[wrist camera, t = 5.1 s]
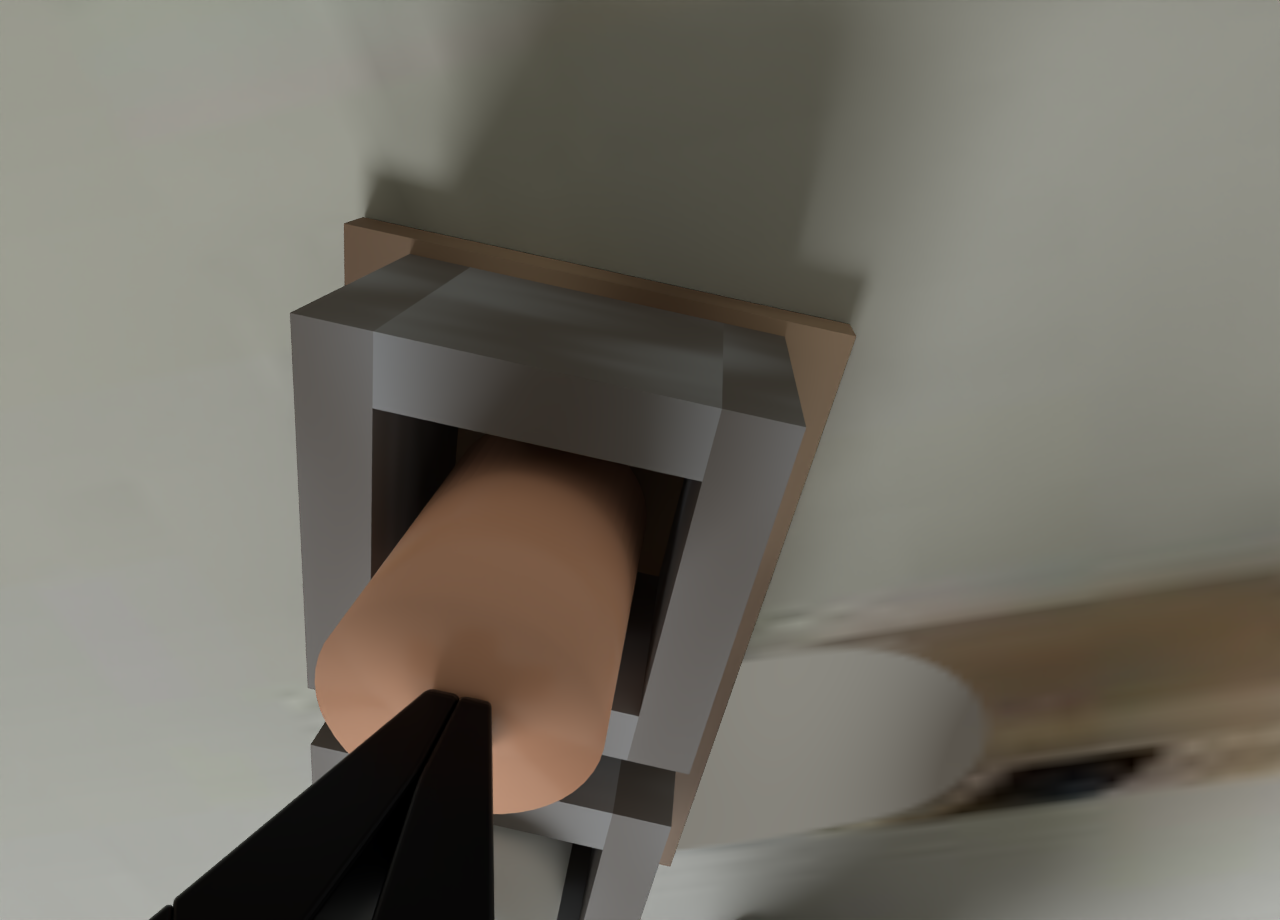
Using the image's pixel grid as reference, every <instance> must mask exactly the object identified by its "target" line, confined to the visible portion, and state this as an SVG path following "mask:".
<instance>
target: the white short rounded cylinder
mask: <svg viewBox="0 0 1280 920" xmlns="http://www.w3.org/2000/svg"><path fill="white" fill-rule="evenodd" d="M493 834H494V912H495V920H557V916H558V912H559V907H560V902H561V897H562V892H563V888H564V883H565V878H566V873H567V868H568V864H569V859H570V854H571V849H572V844H573V843H570V842H566V841H562V840H557V839H553V838H548V837H544V836H540V835H535V834H531V833H527V832H522V831H518V830H513V829H509V828H505V827H500V826H496V825H493Z"/></svg>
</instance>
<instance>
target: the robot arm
mask: <svg viewBox="0 0 1280 920" xmlns="http://www.w3.org/2000/svg"><path fill="white" fill-rule="evenodd" d="M149 920H495V912H494V834H493V756H492V706H491V704H490V703H489V702H488V701H484V700H480V699H475V698H471V697H461V698H460V699H459V697H458V696H457V695H456V694H453V693H449V692H444V691H440V690H436V689H429V690H426V691H424V692H423V693H422V694H421V695H419V696H418V697H417V698H416V699H415V700H413V701H412V702H411V703H410V704H409V705H407V706H406V707H405V708H404V709H403V710H401V711H400V712H399V713H398V714H397V715H395V716H394V717H393V718H392V719H391V720H389V721H388V722H387V723H386V724H385V725H383V726H382V727H381V728H380V729H379V730H377V731H376V732H375V733H374V734H373V735H371V736H370V737H369V738H368V739H366V740H365V741H364V742H363V743H362V744H360V745H359V746H358V747H357V748H356V749H354V750H353V751H352V752H351V753H350V754H348V755H347V756H346V757H345V758H344V759H342V760H341V761H340V762H339V763H338V764H336V765H335V766H334V767H333V768H332V769H330V770H329V771H328V772H327V773H326V774H324V775H323V776H322V777H321V778H320V779H318V780H317V781H316V782H315V783H313V784H312V785H311V786H310V787H309V788H307V789H306V790H305V791H304V792H303V793H301V794H300V795H299V796H298V797H297V798H295V799H294V800H293V801H292V802H291V803H289V804H288V805H287V806H286V807H285V808H283V809H282V810H281V811H280V812H279V813H277V814H276V815H275V816H274V817H273V818H271V819H270V820H269V821H268V822H267V823H265V824H264V825H263V826H262V827H260V828H259V829H258V830H257V831H256V832H254V833H253V834H252V835H251V836H250V837H248V838H247V839H246V840H245V841H244V842H242V843H241V844H240V845H239V846H238V847H236V848H235V849H234V850H233V851H232V852H230V853H229V854H228V855H227V856H226V857H224V858H223V859H222V860H221V861H220V862H218V863H217V864H216V865H215V866H214V867H212V868H211V869H210V870H209V871H208V872H206V873H205V874H204V875H203V876H201V877H200V878H199V879H198V880H197V881H195V882H194V883H193V884H192V885H191V886H189V887H188V888H187V889H186V890H185V891H183V892H182V893H181V894H180V895H179V896H177V897H176V898H175V900H174V902H173V906H172V905H166V906H165V907H164V908H162V909H161V910H160V911H159V912H158V913H156V914H155V915H154V916H153V917H152V918H150V919H149Z"/></svg>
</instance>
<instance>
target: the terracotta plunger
mask: <svg viewBox="0 0 1280 920" xmlns="http://www.w3.org/2000/svg"><path fill="white" fill-rule="evenodd" d="M646 523H647V511H646V504H645V499H644V496H643V492H642V489H641V487H640V485H639V482H638V480H637V478H636V476H635V475H634V473H633V472H632V470H631V469H630V467H629V466H628V465H625V464H620V463H616V462H611V461H607V460H602V459H598V458H593V457H589V456H584V455H580V454H575V453H571V452H567V451H562V450H558V449H553V448H549V447H544V446H540V445H535V444H531V443H526V442H522V441H517V440H513V439H508V438H504V437H499V436H495V435H490V434H485V435H483V436H482V437H481V438H479V439H478V440H476V441H475V442H474V443H473V444H472V445H471V446H470V447H469V448H468V449H467V450H466V452H465V453H464V454H463V456H462V457H461V459H460V460H459V461H458V463H457V464H456V465H455V467H454V468H453V469H452V471H451V472H450V473H449V475H448V476H447V477H446V479H445V480H444V482H443V483H442V484H441V486H440V487H439V488H438V490H437V491H436V492H435V494H434V495H433V496H432V498H431V499H430V500H429V502H428V503H427V505H426V506H425V507H424V509H423V510H422V511H421V513H420V514H419V515H418V517H417V518H416V519H415V521H414V522H413V523H412V525H411V526H410V528H409V529H408V530H407V532H406V533H405V534H404V536H403V537H402V538H401V540H400V541H399V542H398V544H397V545H396V546H395V548H394V549H393V551H392V552H391V553H390V555H389V556H388V557H387V559H386V560H385V561H384V563H383V564H382V565H381V567H380V568H379V569H378V571H377V572H376V574H375V575H374V576H373V578H372V579H371V580H370V582H369V583H368V584H367V586H366V587H365V588H364V590H363V591H362V592H361V594H360V595H359V597H358V598H357V599H356V601H355V602H354V603H353V605H352V606H351V607H350V609H349V610H348V611H347V613H346V614H345V615H344V617H343V618H342V620H341V621H340V622H339V624H338V625H337V626H336V628H335V629H334V630H333V632H332V633H331V634H330V636H329V637H328V639H327V640H326V641H325V643H324V645H323V647H322V649H321V651H320V654H319V656H318V660H317V664H316V668H315V689H316V697H317V700H318V703H319V707H320V710H321V712H322V715H323V717H324V719H325V721H326V723H327V725H328V727H329V728H330V730H331V731H332V733H333V735H334V736H335V738H336V739H337V740H338V741H339V743H340V744H341V745H342V746H343V748H344V749H345V750H346V751H347V752H348V753H349V754H350V753H351V752H352V751H353V750H354V749H356V748H357V747H358V746H359V745H360V744H362V743H363V742H364V741H365V740H366V739H368V738H369V737H370V736H371V735H373V734H374V733H375V732H376V731H377V730H379V729H380V728H381V727H382V726H383V725H385V724H386V723H387V722H388V721H389V720H391V719H392V718H393V717H394V716H395V715H397V714H398V713H399V712H400V711H401V710H403V709H404V708H405V707H406V706H407V705H409V704H410V703H411V702H412V701H413V700H415V699H416V698H417V697H418V696H419V695H421V694H422V693H423V692H424V691H426V690H429V689H436V690H440V691H444V692H449V693H453V694H456V695H457V696H458V697H459V699H460V698H461V697H471V698H475V699H480V700H484V701H488V702H489V703H490V704H491V706H492V756H493V814H508V813H519V812H524V811H529V810H534V809H537V808H541V807H544V806H547V805H550V804H552V803H554V802H557V801H559V800H561V799H563V798H564V797H566V796H568V795H569V794H571V793H573V792H574V791H575V790H576V789H578V788H579V787H580V786H581V785H582V784H583V783H585V781H586V780H587V779H588V778H589V777H590V775H591V774H592V773H593V772H594V770H595V768H596V766H597V765H598V763H599V761H600V759H601V756H602V753H603V750H604V746H605V741H606V736H607V730H608V725H609V720H610V715H611V709H612V704H613V699H614V694H615V688H616V683H617V678H618V672H619V667H620V662H621V657H622V651H623V646H624V641H625V636H626V630H627V625H628V620H629V615H630V609H631V604H632V599H633V594H634V588H635V583H636V578H637V573H638V567H639V562H640V557H641V551H642V546H643V541H644V536H645V530H646Z"/></svg>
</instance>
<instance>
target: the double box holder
mask: <svg viewBox="0 0 1280 920" xmlns="http://www.w3.org/2000/svg"><path fill="white" fill-rule="evenodd" d="M344 269H345V286H344V287H342V288H339V289H337V290H335V291H333V292H331V293H329V294H327V295H325V296H323V297H321V298H319V299H317V300H315V301H313V302H311V303H309V304H307V305H305V306H303V307H301V308H299V309H297V310H295V311H293V312H291V313H290V322H291V343H292V364H293V385H294V406H295V427H296V448H297V469H298V490H299V511H300V532H301V553H302V574H303V595H304V616H305V637H306V658H307V679H308V688H310V689H314V690H316V689H315V668H316V664H317V660H318V656H319V654H320V651H321V649H322V647H323V645H324V643H325V641H326V640H327V639H328V637H329V636H330V634H331V633H332V632H333V630H334V629H335V628H336V626H337V625H338V624H339V622H340V621H341V620H342V618H343V617H344V615H345V614H346V613H347V611H348V610H349V609H350V607H351V606H352V605H353V603H354V602H355V601H356V599H357V598H358V597H359V595H360V594H361V592H362V591H363V590H364V588H365V587H366V586H367V584H368V583H369V582H370V580H371V579H372V578H373V576H374V575H375V574H376V572H377V571H378V569H379V568H380V567H381V565H382V564H383V563H384V561H385V560H386V559H387V557H388V556H389V555H390V553H391V552H392V551H393V549H394V548H395V546H396V545H397V544H398V542H399V541H400V540H401V538H402V537H403V536H404V534H405V533H406V532H407V530H408V529H409V528H410V526H411V525H412V523H413V522H414V521H415V519H416V518H417V517H418V515H419V514H420V513H421V511H422V510H423V509H424V507H425V506H426V505H427V503H428V502H429V500H430V499H431V498H432V496H433V495H434V494H435V492H436V491H437V490H438V488H439V487H440V486H441V484H442V483H443V482H444V480H445V479H446V477H447V476H448V475H449V473H450V472H451V471H452V469H453V468H454V467H455V465H456V464H457V463H458V461H459V460H460V459H461V457H462V456H463V454H464V453H465V452H466V450H467V449H468V448H469V447H470V446H471V445H472V444H473V443H474V442H475V441H476V440H478V439H479V438H481V437H482V436H483V435H485V434H490V435H495V436H499V437H504V438H508V439H513V440H517V441H522V442H526V443H531V444H535V445H540V446H544V447H549V448H553V449H558V450H562V451H567V452H571V453H575V454H580V455H584V456H589V457H593V458H598V459H602V460H607V461H611V462H616V463H620V464H625V465H628V466H629V467H630V469H631V470H632V472H633V473H634V475H635V476H636V478H637V480H638V482H639V485H640V487H641V489H642V492H643V496H644V499H645V504H646V511H647V523H646V530H645V536H644V541H643V546H642V551H641V557H640V562H639V567H638V573H637V578H636V583H635V588H634V594H633V599H632V604H631V609H630V615H629V620H628V625H627V630H626V636H625V641H624V646H623V651H622V657H621V662H620V667H619V672H618V678H617V683H616V688H615V694H614V699H613V704H612V709H611V715H610V720H609V725H608V730H607V736H606V741H605V746H604V750H603V753H602V756H601V759H600V761H599V763H598V765H597V766H596V768H595V770H594V772H593V773H592V774H591V775H590V777H589V778H588V779H587V780H586V781H585V783H583V784H582V785H581V786H580V787H579V788H578V789H576V790H575V791H574V792H573V793H571V794H569V795H568V796H566V797H564V798H563V799H561V800H559V801H557V802H554V803H552V804H550V805H547V806H544V807H541V808H537V809H534V810H529V811H524V812H519V813H508V814H493V825H496V826H500V827H505V828H509V829H513V830H518V831H522V832H527V833H531V834H535V835H540V836H544V837H548V838H553V839H557V840H562V841H566V842H570V843H573V844H572V849H571V854H570V859H569V864H568V868H567V873H566V878H565V883H564V888H563V892H562V897H561V902H560V907H559V912H558V916H557V920H640V919H641V916H642V913H643V910H644V907H645V904H646V901H647V898H648V895H649V892H650V889H651V886H652V883H653V880H654V877H655V874H656V871H657V868H658V865H659V864H661V865H665V866H671V863H672V860H673V857H674V854H675V851H676V849H677V846H678V842H679V840H680V837H681V834H682V831H683V828H684V826H685V823H686V820H687V817H688V814H689V811H690V809H691V805H692V803H693V800H694V797H695V794H696V792H697V788H698V786H699V783H700V780H701V777H702V774H703V772H704V769H705V766H706V763H707V760H708V757H709V754H710V752H711V749H712V746H713V743H714V740H715V737H716V735H717V732H718V729H719V726H720V723H721V720H722V717H723V715H724V712H725V709H726V706H727V703H728V700H729V697H730V695H731V692H732V689H733V686H734V683H735V680H736V678H737V675H738V672H739V669H740V666H741V663H742V660H743V658H744V655H745V652H746V649H747V646H748V643H749V641H750V638H751V635H752V632H753V629H754V626H755V623H756V621H757V618H758V615H759V612H760V609H761V606H762V603H763V601H764V598H765V595H766V592H767V589H768V586H769V584H770V581H771V578H772V575H773V572H774V569H775V566H776V564H777V561H778V558H779V555H780V552H781V549H782V547H783V544H784V541H785V538H786V535H787V532H788V529H789V527H790V524H791V521H792V518H793V515H794V512H795V509H796V507H797V504H798V501H799V498H800V495H801V492H802V490H803V487H804V484H805V481H806V478H807V475H808V472H809V470H810V467H811V464H812V461H813V458H814V455H815V452H816V450H817V447H818V444H819V441H820V438H821V435H822V433H823V430H824V427H825V424H826V421H827V418H828V415H829V413H830V410H831V407H832V404H833V401H834V398H835V396H836V393H837V390H838V387H839V384H840V381H841V378H842V376H843V373H844V370H845V367H846V364H847V361H848V358H849V356H850V353H851V350H852V347H853V344H854V341H855V339H856V335H855V333H854V331H853V329H852V328H851V326H850V324H846V323H841V322H837V321H832V320H828V319H823V318H819V317H814V316H810V315H805V314H800V313H796V312H791V311H787V310H782V309H778V308H773V307H769V306H764V305H760V304H755V303H751V302H746V301H741V300H737V299H732V298H728V297H723V296H719V295H714V294H710V293H705V292H701V291H696V290H691V289H687V288H682V287H678V286H673V285H669V284H664V283H660V282H655V281H651V280H646V279H642V278H637V277H632V276H628V275H623V274H619V273H614V272H610V271H605V270H601V269H596V268H592V267H587V266H583V265H578V264H573V263H569V262H564V261H560V260H555V259H551V258H546V257H542V256H537V255H533V254H528V253H524V252H519V251H514V250H510V249H505V248H501V247H496V246H492V245H487V244H483V243H478V242H474V241H469V240H464V239H460V238H455V237H451V236H446V235H442V234H437V233H433V232H428V231H424V230H419V229H415V228H410V227H405V226H401V225H396V224H392V223H387V222H383V221H378V220H374V219H369V218H365V217H362V218H359V219H356V220H353V221H350V222H347V223H344ZM348 754H349V753H348V752H347V751H346V750H345V749H344V748H343V746H342V745H341V744H340V743H339V741H338V740H337V739H336V738H335V736H334V735H333V733H332V731H331V730H330V728H329V727H328V725H327V723H326V722H325V723H324V725H323V726H322V728H321V729H320V731H319V733H318V734H317V736H316V737H315V739H314V740H313V742H312V743H311V763H312V784H313V783H315V782H316V781H317V780H318V779H320V778H321V777H322V776H323V775H324V774H326V773H327V772H328V771H329V770H330V769H332V768H333V767H334V766H335V765H336V764H338V763H339V762H340V761H341V760H342V759H344V758H345V757H346V756H347V755H348Z"/></svg>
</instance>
